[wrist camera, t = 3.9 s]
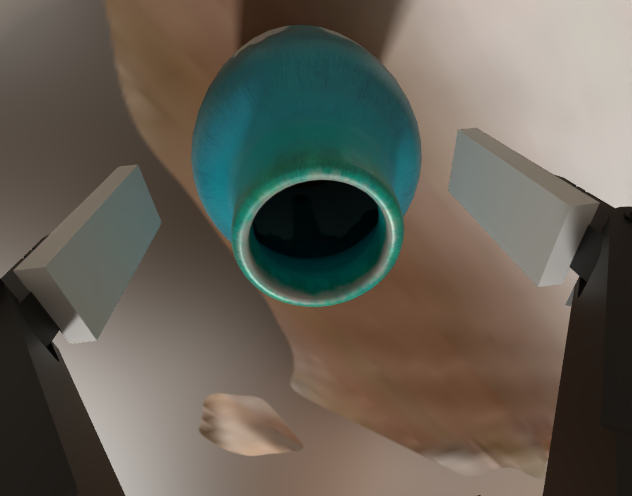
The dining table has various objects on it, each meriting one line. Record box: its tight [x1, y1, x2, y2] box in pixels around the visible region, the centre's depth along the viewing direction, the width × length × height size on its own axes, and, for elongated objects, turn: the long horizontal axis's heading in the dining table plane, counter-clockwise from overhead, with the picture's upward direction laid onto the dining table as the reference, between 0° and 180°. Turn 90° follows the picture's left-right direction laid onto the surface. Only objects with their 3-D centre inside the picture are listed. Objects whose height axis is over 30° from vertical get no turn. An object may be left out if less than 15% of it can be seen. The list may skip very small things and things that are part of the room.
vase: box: [191, 25, 421, 307], centre depth 18 cm, size 11×11×19 cm
